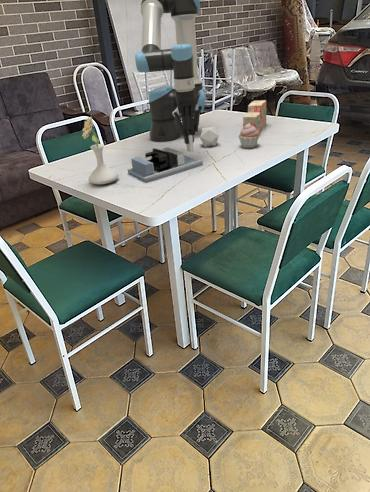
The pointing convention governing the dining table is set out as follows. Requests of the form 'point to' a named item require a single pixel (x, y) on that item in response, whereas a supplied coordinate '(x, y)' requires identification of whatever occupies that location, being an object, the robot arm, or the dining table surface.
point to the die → (209, 136)
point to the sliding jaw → (176, 156)
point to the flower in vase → (98, 159)
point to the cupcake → (249, 136)
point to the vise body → (147, 174)
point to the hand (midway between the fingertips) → (190, 150)
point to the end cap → (161, 160)
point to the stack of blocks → (256, 115)
